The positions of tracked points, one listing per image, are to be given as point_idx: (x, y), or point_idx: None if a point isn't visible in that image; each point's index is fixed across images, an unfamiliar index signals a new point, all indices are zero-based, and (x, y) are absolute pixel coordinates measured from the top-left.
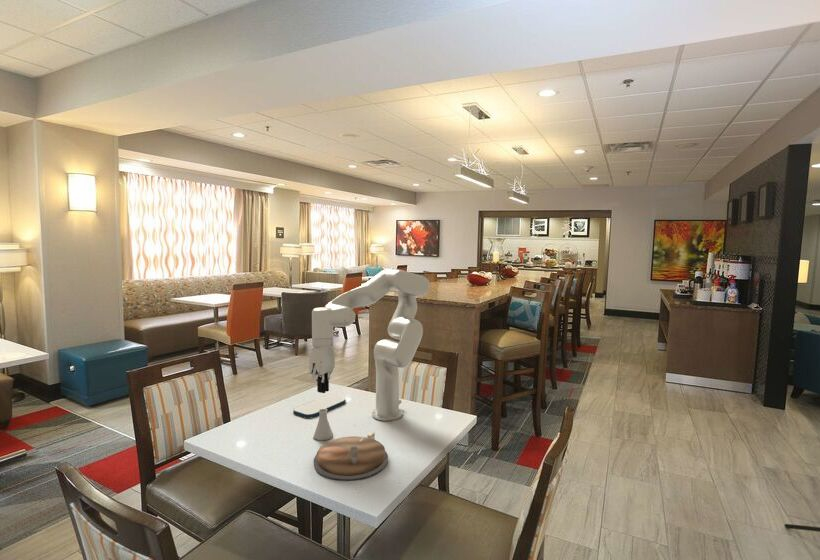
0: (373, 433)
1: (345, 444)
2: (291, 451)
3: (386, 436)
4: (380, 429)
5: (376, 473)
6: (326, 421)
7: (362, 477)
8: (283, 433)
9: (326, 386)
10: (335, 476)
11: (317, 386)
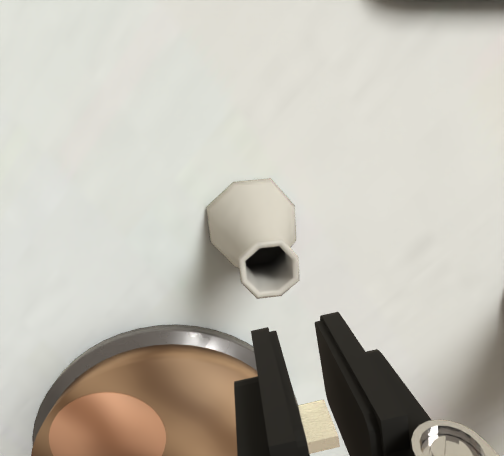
0: (330, 447)
1: (196, 423)
2: (63, 224)
3: None
4: (434, 353)
5: None
6: (264, 269)
7: None
8: (150, 26)
9: (344, 438)
10: None
11: (258, 375)
